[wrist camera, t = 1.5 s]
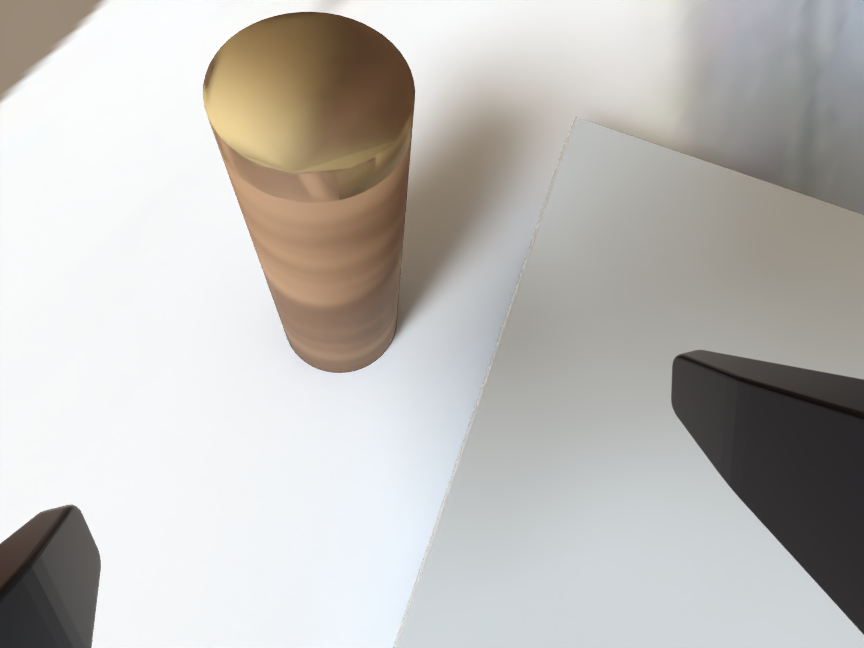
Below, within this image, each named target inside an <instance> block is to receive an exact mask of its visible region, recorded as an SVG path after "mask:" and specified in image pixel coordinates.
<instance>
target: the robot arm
mask: <svg viewBox="0 0 864 648" xmlns="http://www.w3.org/2000/svg"><path fill="white" fill-rule="evenodd" d="M671 403H672V407H673V410H674V412H675V414H676V416H677V417H678V419H679V420H680V421H681V423H682V424H683V425H684V427H685V428H686V429H687V431H688V432H689V433H690V435H691V436H692V437H693V439H694V440H695V442H696V443H697V444H698V446H699V447H700V448H701V450H702V451H703V452H704V454H705V455H706V456H707V458H708V459H709V461H710V462H711V463H712V465H713V466H714V467H715V469H716V470H717V471H718V473H719V474H720V475H721V477H722V478H723V479H724V480H725V482H726V483H727V484H728V485H729V487H730V488H731V489H732V490H733V491H734V493H735V494H736V495H737V496H738V497H739V498H740V499H741V501H742V502H743V503H744V504H745V505H746V506H747V507H748V508H749V509H750V510H751V512H752V513H753V514H754V515H755V516H756V517H757V518H758V519H759V520H760V521H761V523H762V524H763V525H764V526H765V527H766V528H767V529H768V530H769V531H770V532H771V534H772V535H773V536H774V537H775V538H776V539H777V540H778V541H779V542H780V543H781V545H782V546H783V547H784V548H785V549H786V550H787V551H788V552H789V553H790V554H791V556H792V557H793V558H794V559H795V560H796V561H797V562H798V563H799V564H800V565H801V567H802V568H803V569H804V570H805V571H806V572H807V573H808V574H809V575H810V576H811V578H812V579H813V580H814V581H815V582H816V583H817V584H818V585H819V586H820V587H821V589H822V590H823V591H824V592H825V593H826V594H827V595H828V596H829V597H830V598H831V600H832V601H833V602H834V603H835V604H836V605H837V606H838V607H839V608H840V609H841V611H842V612H843V613H844V614H845V615H846V616H847V617H848V618H849V619H850V620H851V622H852V623H853V624H854V625H855V626H856V627H857V628H858V629H859V630H860V631H861V633H862V634H863V635H864V379H859V378H853V377H848V376H842V375H837V374H831V373H826V372H821V371H815V370H810V369H804V368H799V367H793V366H788V365H782V364H777V363H772V362H766V361H761V360H755V359H750V358H744V357H739V356H733V355H728V354H723V353H717V352H712V351H706V350H694V351H690V352H686V353H682V354H679V355H677V356H676V357H675V358H674V360H673V364H672V385H671ZM100 570H101V560H100V554H99V551H98V548H97V546H96V544H95V541H94V539H93V537H92V535H91V533H90V530H89V528H88V526H87V524H86V521H85V519H84V517H83V515H82V513H81V511H80V510H79V509H78V508H77V507H76V506H74V505H66V506H62V507H58V508H54V509H50V510H46V511H43V512H40V513H39V514H37V515H36V516H35V517H34V518H32V519H31V520H30V521H28V522H27V523H26V524H25V525H23V526H22V527H21V528H20V529H18V530H17V531H16V532H15V533H13V534H12V535H11V536H10V537H8V538H7V539H6V540H5V541H3V542H2V543H1V544H0V648H91V646H92V638H93V629H94V621H95V612H96V604H97V595H98V587H99V578H100Z"/></svg>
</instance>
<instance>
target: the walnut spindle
mask: <svg viewBox="0 0 864 648" xmlns="http://www.w3.org/2000/svg"><path fill="white" fill-rule="evenodd" d="M203 99H204V106H205V110H206V113H207V116H208V119H209V122H210V124H211V127H212V130H213V133H214V135H215V138H216V141H217V144H218V147H219V149H220V152H221V155H222V158H223V161H224V163H225V166H226V169H227V172H228V174H229V177H230V180H231V183H232V186H233V188H234V191H235V194H236V197H237V200H238V202H239V205H240V208H241V211H242V213H243V216H244V219H245V222H246V225H247V227H248V230H249V233H250V236H251V239H252V241H253V244H254V247H255V250H256V252H257V255H258V258H259V261H260V264H261V266H262V269H263V272H264V275H265V278H266V280H267V283H268V286H269V289H270V291H271V294H272V297H273V300H274V303H275V305H276V308H277V311H278V314H279V317H280V319H281V322H282V325H283V328H284V330H285V333H286V336H287V339H288V341H289V343H290V345H291V347H292V349H293V350H294V351H295V353H296V354H297V355H298V356H299V357H300V358H301V359H302V360H303V361H305V362H306V363H308V364H309V365H311V366H313V367H315V368H317V369H320V370H323V371H328V372H335V373H343V372H351V371H356V370H359V369H362V368H364V367H366V366H368V365H370V364H371V363H373V362H374V361H376V360H377V359H378V358H379V357H381V356H382V354H383V353H384V352H385V351H386V350H387V348H388V347H389V345H390V343H391V341H392V339H393V336H394V333H395V329H396V320H397V308H398V296H399V284H400V271H401V259H402V247H403V235H404V223H405V211H406V198H407V186H408V174H409V162H410V150H411V138H412V126H413V113H414V101H415V87H414V80H413V77H412V73H411V70H410V68H409V66H408V64H407V62H406V60H405V59H404V57H403V56H402V54H401V53H400V51H399V50H398V49H397V48H396V47H395V46H394V45H393V43H391V42H390V41H389V40H388V39H387V38H386V37H384V36H383V35H382V34H380V33H379V32H377V31H376V30H374V29H373V28H371V27H369V26H367V25H365V24H363V23H361V22H358V21H356V20H353V19H350V18H347V17H343V16H340V15H334V14H329V13H319V12H297V13H288V14H283V15H278V16H274V17H270V18H267V19H264V20H261V21H259V22H257V23H254V24H252V25H250V26H248V27H246V28H245V29H243V30H241V31H240V32H238V33H237V34H235V35H234V36H233V37H231V38H230V39H229V40H228V41H227V42H226V43H225V44H224V45H223V46H222V47H221V48H220V49H219V51H218V52H217V53H216V54H215V56H214V58H213V59H212V61H211V63H210V65H209V67H208V70H207V72H206V75H205V80H204V85H203Z"/></svg>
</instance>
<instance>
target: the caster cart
mask: <svg viewBox="0 0 864 648" xmlns="http://www.w3.org/2000/svg"><path fill="white" fill-rule="evenodd" d="M694 350H706V351H712V352H717V353H723V354H728V355H733V356H739V357H744V358H750V359H755V360H761V361H766V362H772V363H777V364H782V365H788V366H793V367H799V368H804V369H810V370H815V371H821V372H826V373H831V374H837V375H842V376H848V377H853V378H859V379H864V215H863V214H860V213H857V212H854V211H851V210H848V209H845V208H842V207H839V206H836V205H833V204H830V203H828V202H825V201H822V200H819V199H816V198H813V197H810V196H807V195H804V194H801V193H798V192H795V191H792V190H789V189H786V188H783V187H781V186H778V185H775V184H772V183H769V182H766V181H763V180H760V179H757V178H754V177H751V176H748V175H745V174H742V173H739V172H736V171H734V170H731V169H728V168H725V167H722V166H719V165H716V164H713V163H710V162H707V161H704V160H701V159H698V158H695V157H692V156H690V155H687V154H684V153H681V152H678V151H675V150H672V149H669V148H666V147H663V146H660V145H657V144H654V143H651V142H648V141H645V140H643V139H640V138H637V137H634V136H631V135H628V134H625V133H622V132H619V131H616V130H613V129H610V128H607V127H604V126H601V125H598V124H596V123H593V122H590V121H587V120H584V119H581V118H578V117H576V118H575V121H574V123H573V125H572V128H571V130H570V132H569V135H568V137H567V139H566V142H565V144H564V147H563V150H562V153H561V156H560V159H559V162H558V165H557V168H556V171H555V174H554V177H553V180H552V183H551V186H550V189H549V191H548V194H547V197H546V200H545V203H544V206H543V209H542V212H541V215H540V218H539V221H538V224H537V227H536V230H535V233H534V236H533V238H532V241H531V244H530V247H529V250H528V253H527V256H526V259H525V262H524V265H523V268H522V271H521V274H520V277H519V280H518V283H517V285H516V288H515V291H514V294H513V297H512V300H511V303H510V306H509V309H508V312H507V315H506V318H505V321H504V324H503V327H502V330H501V332H500V335H499V338H498V341H497V344H496V347H495V350H494V353H493V356H492V359H491V362H490V365H489V368H488V371H487V374H486V377H485V379H484V382H483V385H482V388H481V391H480V394H479V397H478V400H477V403H476V406H475V409H474V412H473V415H472V418H471V421H470V424H469V426H468V429H467V432H466V435H465V438H464V441H463V444H462V447H461V450H460V453H459V456H458V459H457V462H456V465H455V468H454V471H453V474H452V476H451V479H450V482H449V485H448V488H447V491H446V494H445V497H444V500H443V503H442V506H441V509H440V512H439V515H438V518H437V521H436V523H435V526H434V529H433V532H432V535H431V538H430V541H429V544H428V547H427V550H426V553H425V556H424V559H423V562H422V565H421V568H420V570H419V573H418V576H417V579H416V582H415V585H414V588H413V591H412V594H411V597H410V600H409V603H408V606H407V609H406V612H405V615H404V617H403V620H402V623H401V626H400V629H399V632H398V635H397V638H396V641H395V644H394V647H393V648H864V635H863V634H862V633H861V631H860V630H859V629H858V628H857V627H856V626H855V625H854V624H853V623H852V622H851V620H850V619H849V618H848V617H847V616H846V615H845V614H844V613H843V612H842V611H841V609H840V608H839V607H838V606H837V605H836V604H835V603H834V602H833V601H832V600H831V598H830V597H829V596H828V595H827V594H826V593H825V592H824V591H823V590H822V589H821V587H820V586H819V585H818V584H817V583H816V582H815V581H814V580H813V579H812V578H811V576H810V575H809V574H808V573H807V572H806V571H805V570H804V569H803V568H802V567H801V565H800V564H799V563H798V562H797V561H796V560H795V559H794V558H793V557H792V556H791V554H790V553H789V552H788V551H787V550H786V549H785V548H784V547H783V546H782V545H781V543H780V542H779V541H778V540H777V539H776V538H775V537H774V536H773V535H772V534H771V532H770V531H769V530H768V529H767V528H766V527H765V526H764V525H763V524H762V523H761V521H760V520H759V519H758V518H757V517H756V516H755V515H754V514H753V513H752V512H751V510H750V509H749V508H748V507H747V506H746V505H745V504H744V503H743V502H742V501H741V499H740V498H739V497H738V496H737V495H736V494H735V493H734V491H733V490H732V489H731V488H730V487H729V485H728V484H727V483H726V482H725V480H724V479H723V478H722V477H721V475H720V474H719V473H718V471H717V470H716V469H715V467H714V466H713V465H712V463H711V462H710V461H709V459H708V458H707V456H706V455H705V454H704V452H703V451H702V450H701V448H700V447H699V446H698V444H697V443H696V442H695V440H694V439H693V437H692V436H691V435H690V433H689V432H688V431H687V429H686V428H685V427H684V425H683V424H682V423H681V421H680V420H679V419H678V417H677V416H676V414H675V412H674V410H673V407H672V403H671V385H672V364H673V360H674V358H675V357H676V356H677V355H679V354H682V353H686V352H690V351H694Z"/></svg>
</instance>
